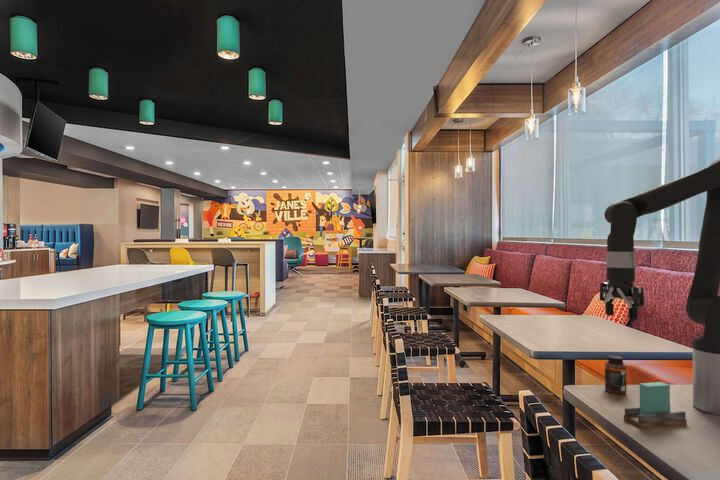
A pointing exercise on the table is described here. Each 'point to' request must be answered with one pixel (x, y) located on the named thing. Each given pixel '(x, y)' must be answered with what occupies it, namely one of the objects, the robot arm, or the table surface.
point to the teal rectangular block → (654, 398)
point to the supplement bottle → (615, 375)
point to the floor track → (654, 418)
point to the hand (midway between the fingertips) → (620, 317)
